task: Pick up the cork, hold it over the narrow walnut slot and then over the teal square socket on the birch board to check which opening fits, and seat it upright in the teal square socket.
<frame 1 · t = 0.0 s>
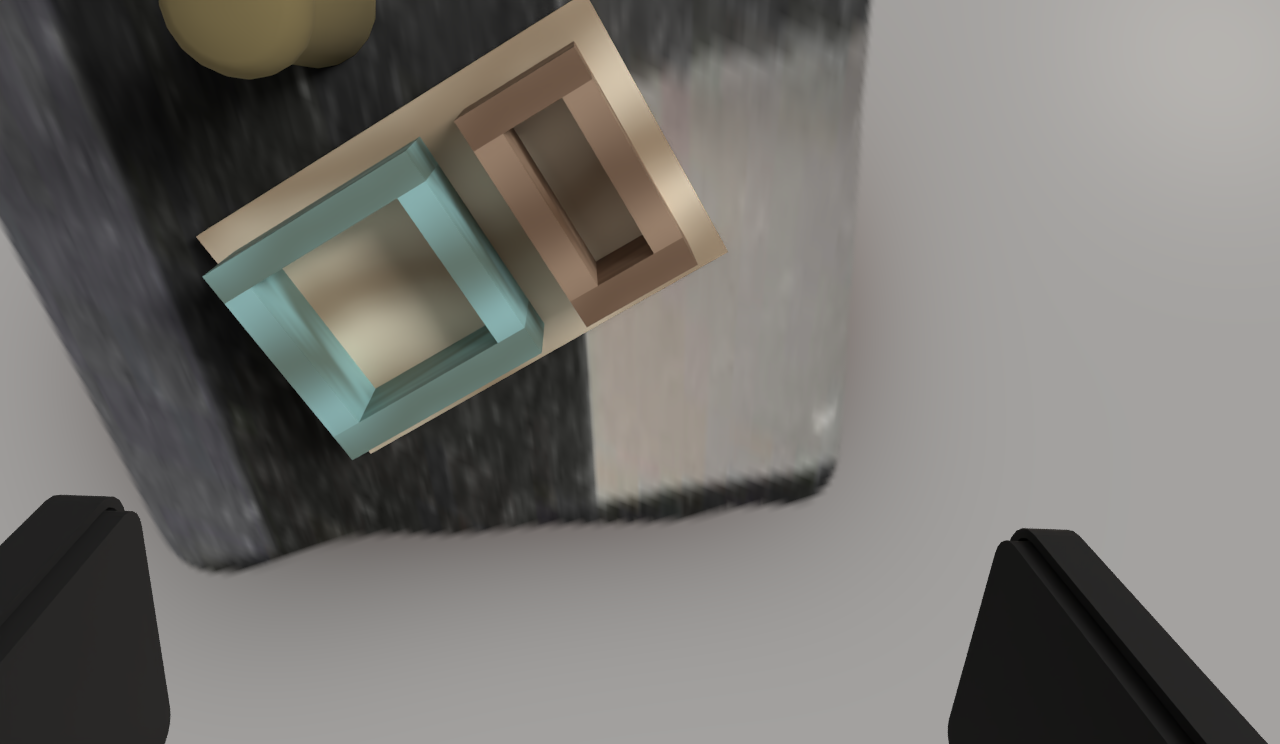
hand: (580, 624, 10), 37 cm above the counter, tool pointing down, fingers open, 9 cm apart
socket board: (470, 239, 46), on the counter
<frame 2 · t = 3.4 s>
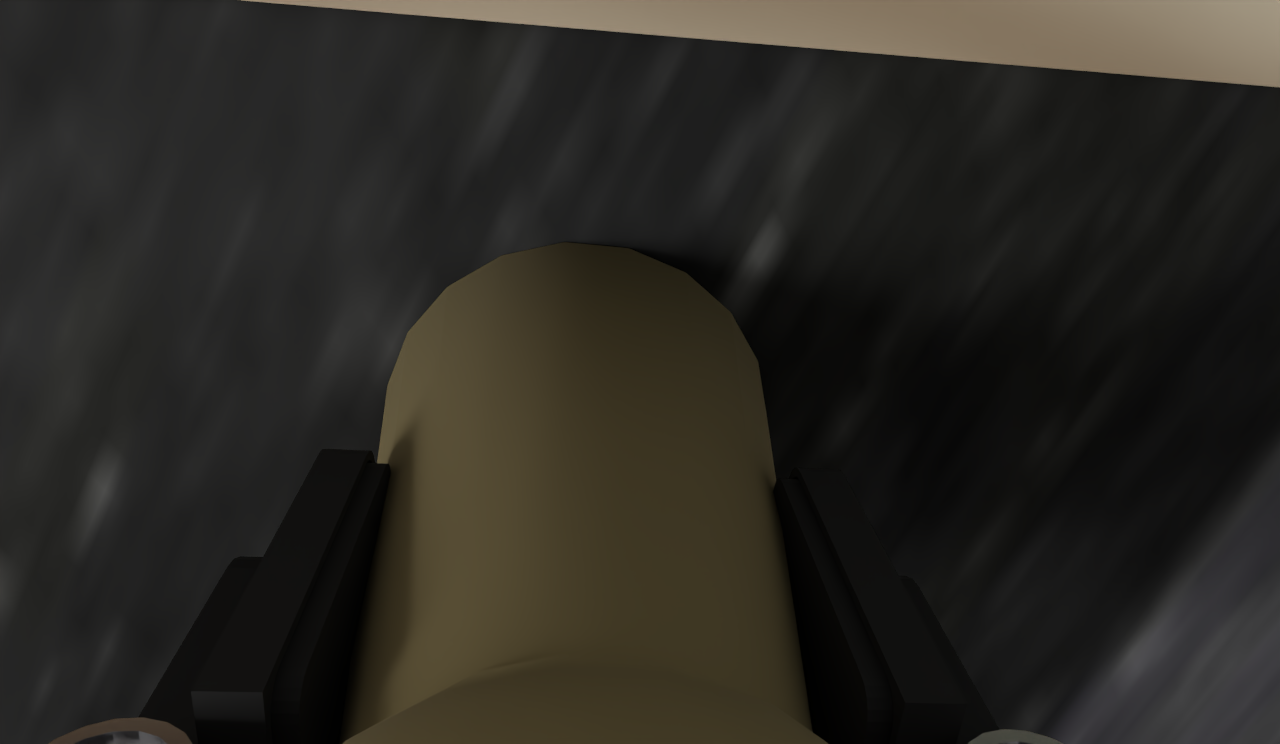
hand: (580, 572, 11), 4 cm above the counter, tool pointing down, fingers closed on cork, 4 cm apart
cork: (578, 421, 15), on the counter, touching gripper
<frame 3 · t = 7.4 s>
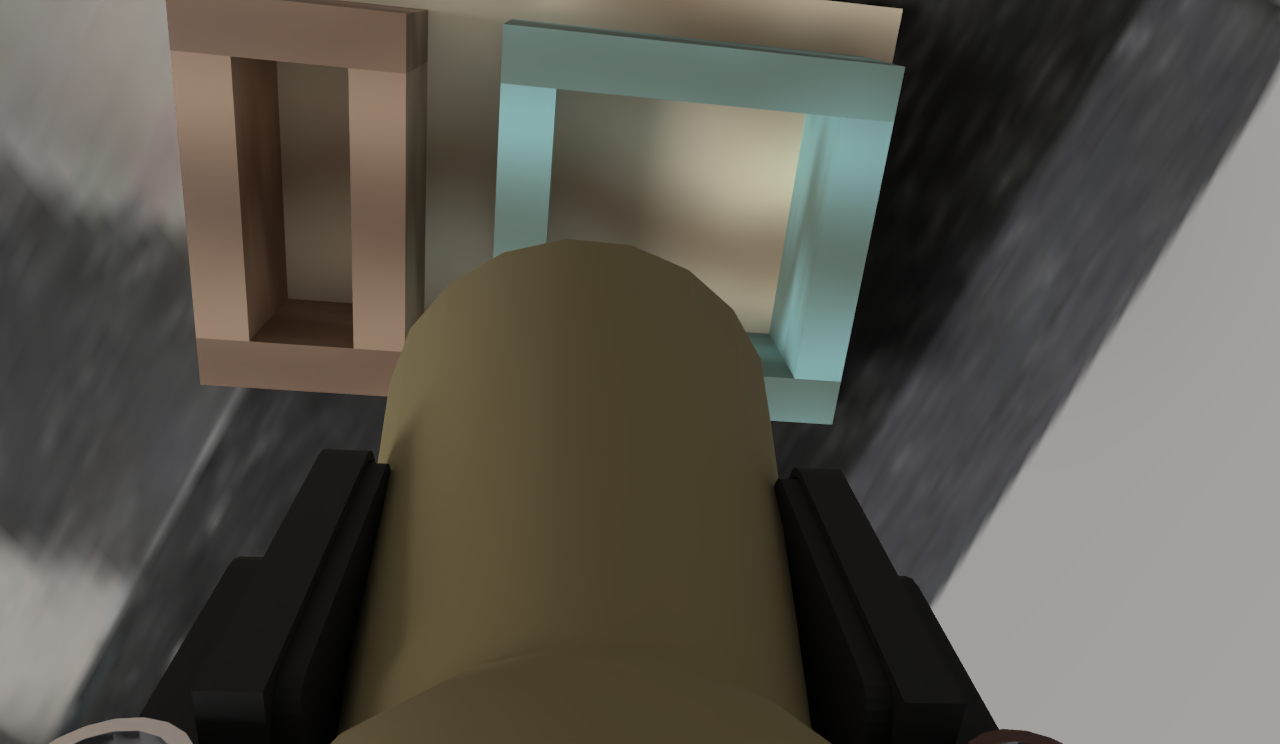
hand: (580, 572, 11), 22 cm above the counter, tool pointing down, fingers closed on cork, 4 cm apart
cork: (580, 418, 15), point 18 cm above the counter, touching gripper
socket board: (535, 194, 31), on the counter
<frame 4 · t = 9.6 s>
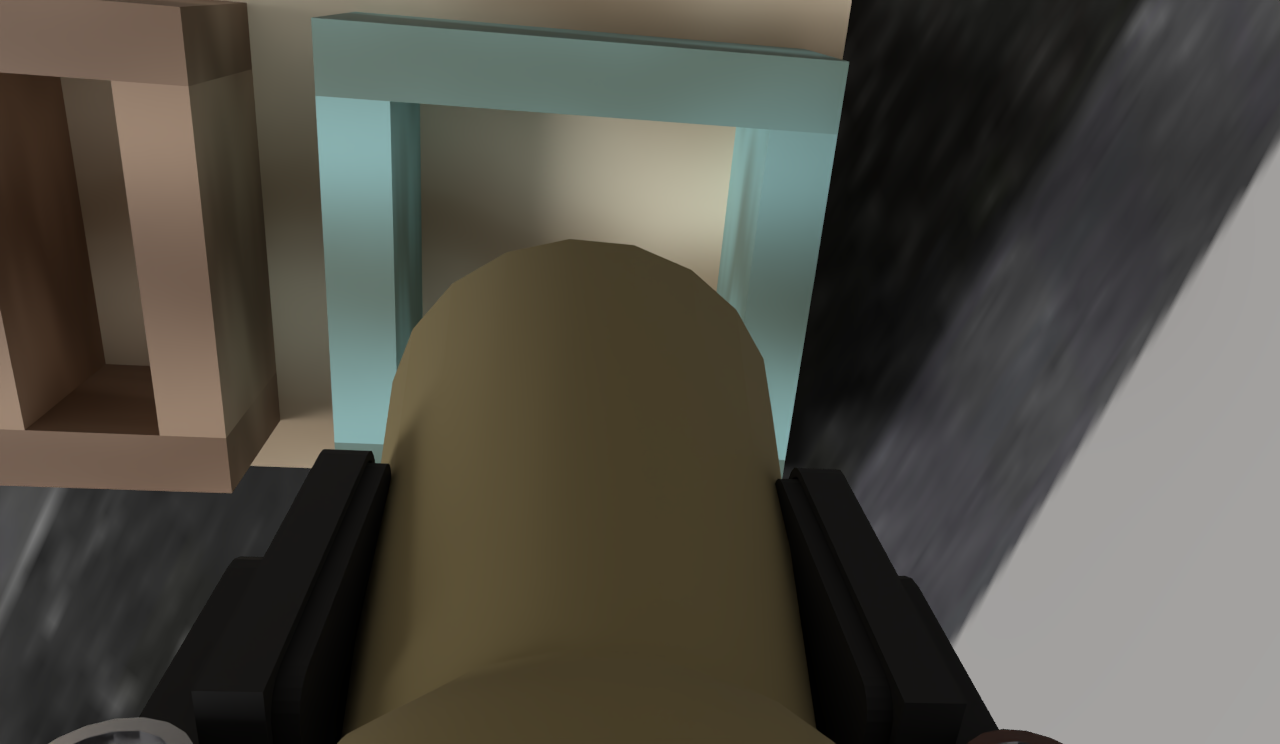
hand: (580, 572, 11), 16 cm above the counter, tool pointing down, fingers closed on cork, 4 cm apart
cork: (583, 418, 15), point 12 cm above the counter, touching gripper
socket board: (408, 229, 25), on the counter
when the fingers open (6 cm above the counter, at t = 11.6 s): cork drops 1 cm, resting on socket board.
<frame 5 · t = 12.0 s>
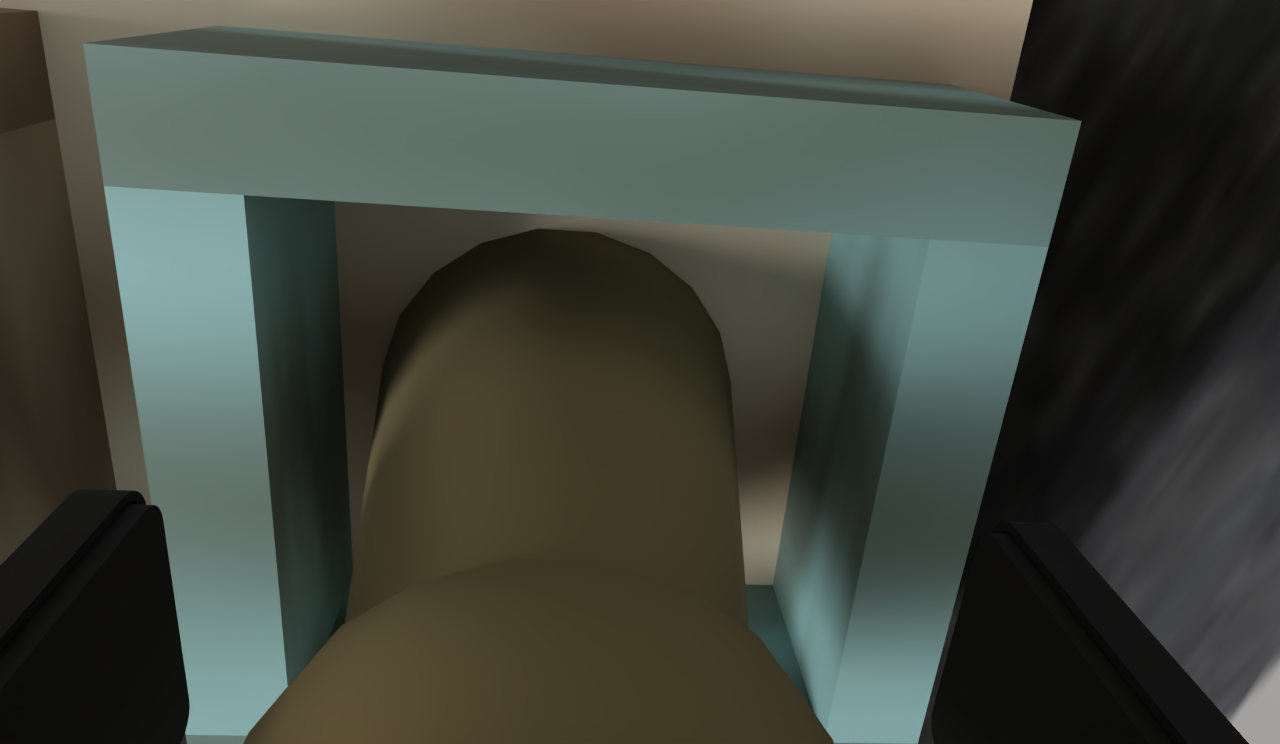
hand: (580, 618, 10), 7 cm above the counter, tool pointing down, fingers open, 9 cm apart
cork: (558, 393, 16), point 1 cm above the counter, touching socket board
socket board: (327, 354, 16), on the counter
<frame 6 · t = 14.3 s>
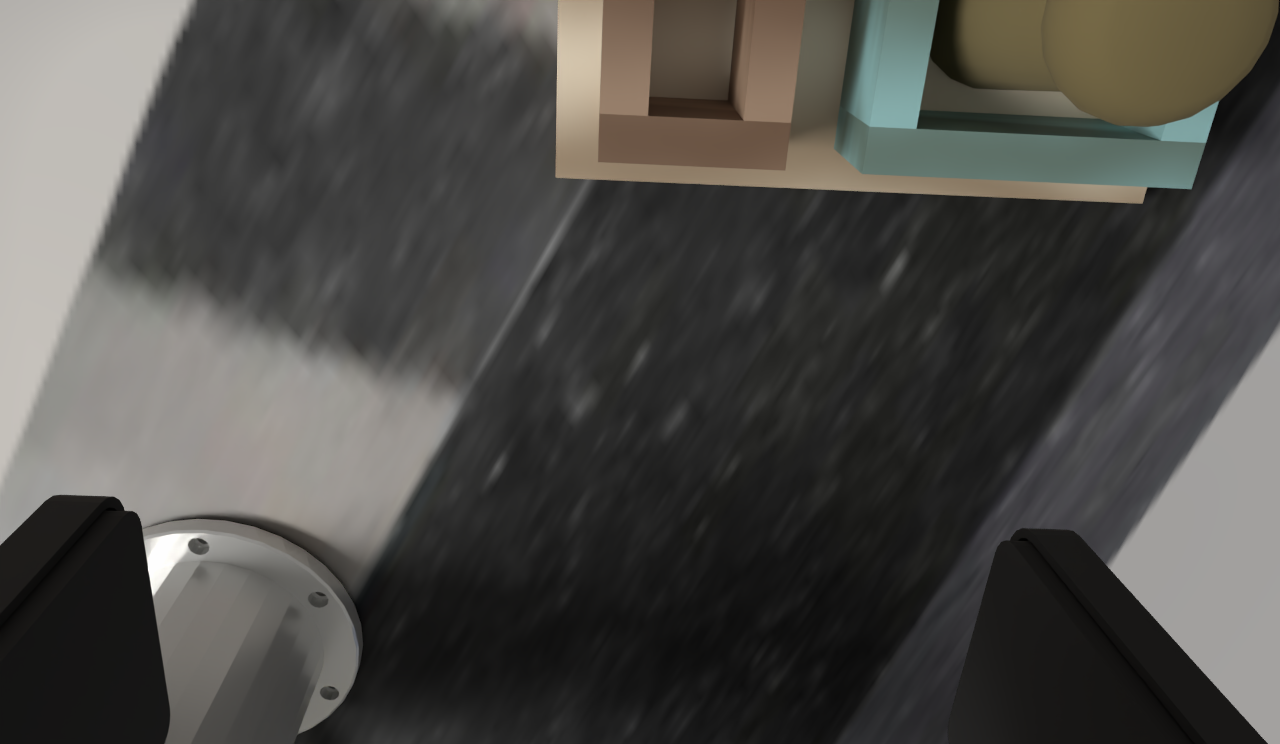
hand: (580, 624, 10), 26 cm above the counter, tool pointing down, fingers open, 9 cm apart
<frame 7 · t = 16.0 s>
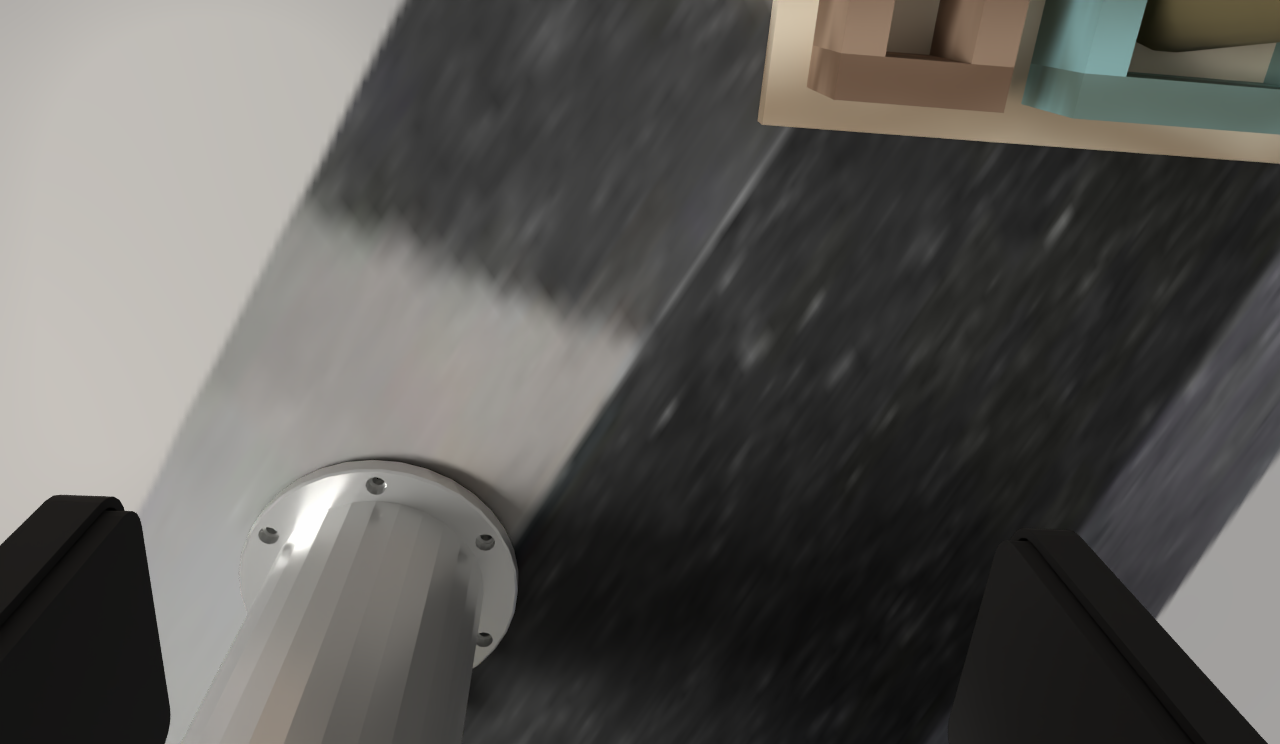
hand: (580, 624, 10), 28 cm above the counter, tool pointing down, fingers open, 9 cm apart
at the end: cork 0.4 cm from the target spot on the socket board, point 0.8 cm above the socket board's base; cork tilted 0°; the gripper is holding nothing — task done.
